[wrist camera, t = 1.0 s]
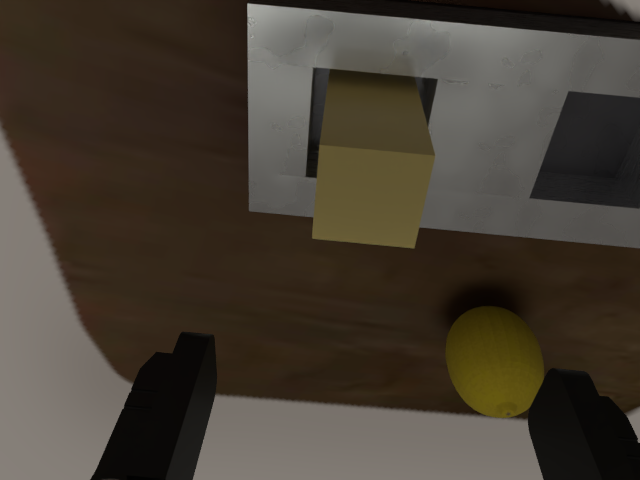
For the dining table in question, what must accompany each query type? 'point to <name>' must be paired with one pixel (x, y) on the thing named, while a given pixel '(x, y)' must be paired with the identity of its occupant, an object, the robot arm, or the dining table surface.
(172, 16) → the dining table surface
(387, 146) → the plug
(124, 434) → the robot arm
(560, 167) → the panel
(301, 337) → the dining table surface
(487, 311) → the lemon
